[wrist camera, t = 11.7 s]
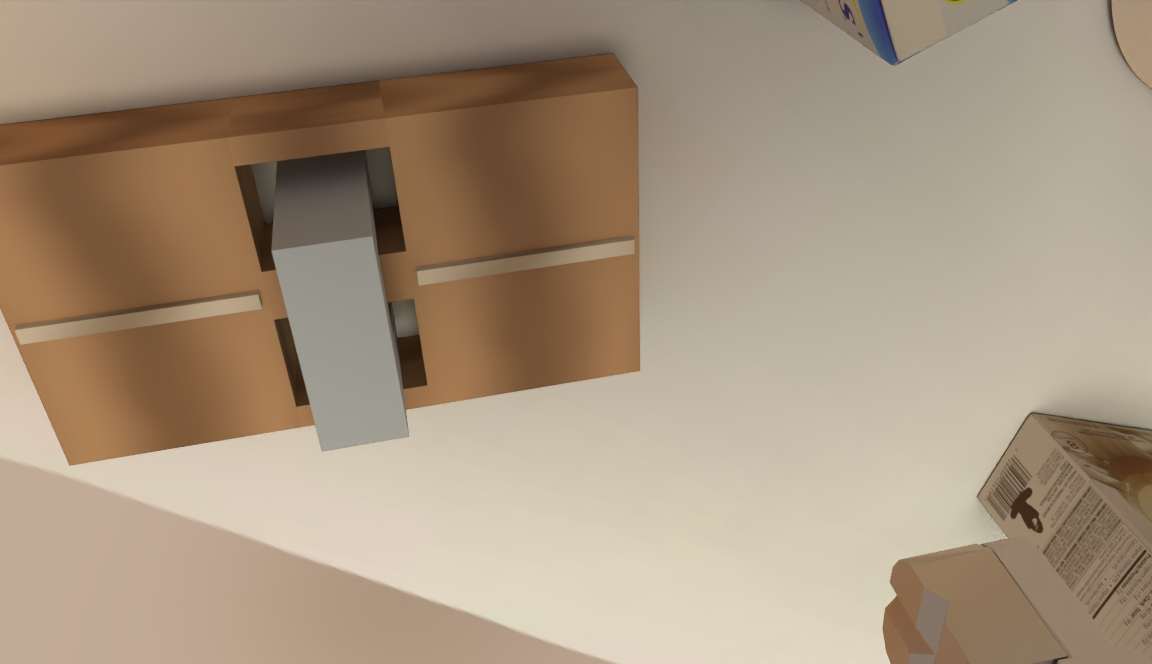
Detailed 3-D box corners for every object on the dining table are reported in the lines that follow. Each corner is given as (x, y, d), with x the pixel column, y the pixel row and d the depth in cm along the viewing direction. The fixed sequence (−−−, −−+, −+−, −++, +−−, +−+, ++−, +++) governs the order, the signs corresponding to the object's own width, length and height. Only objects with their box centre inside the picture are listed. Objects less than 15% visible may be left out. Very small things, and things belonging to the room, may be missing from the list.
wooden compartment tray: (612, 53, 37) (639, 90, 34) (618, 323, 44) (641, 375, 41) (-29, 128, 34) (-63, 176, 31) (86, 408, 41) (68, 470, 38)
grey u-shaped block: (362, 138, 37) (372, 236, 31) (394, 320, 41) (408, 436, 35) (278, 149, 36) (271, 250, 30) (320, 331, 41) (322, 451, 35)
